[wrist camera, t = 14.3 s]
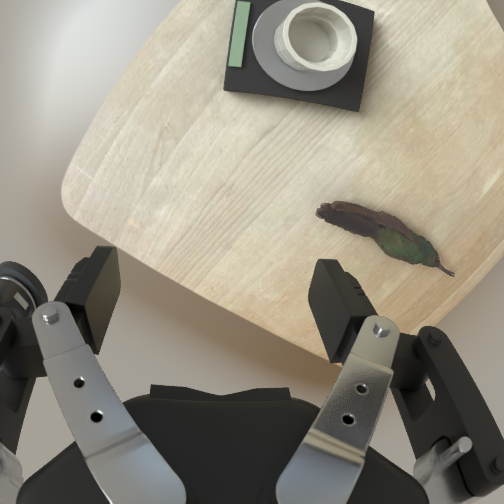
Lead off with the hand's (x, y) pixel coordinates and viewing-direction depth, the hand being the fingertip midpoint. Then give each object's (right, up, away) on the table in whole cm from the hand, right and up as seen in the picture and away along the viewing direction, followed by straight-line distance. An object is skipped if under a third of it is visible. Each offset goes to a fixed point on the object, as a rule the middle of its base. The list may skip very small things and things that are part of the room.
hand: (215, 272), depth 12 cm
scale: (+6, +22, +15) cm, 27 cm away
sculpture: (+21, +3, +28) cm, 35 cm away
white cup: (+6, +20, +12) cm, 24 cm away
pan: (+6, +21, +12) cm, 25 cm away
